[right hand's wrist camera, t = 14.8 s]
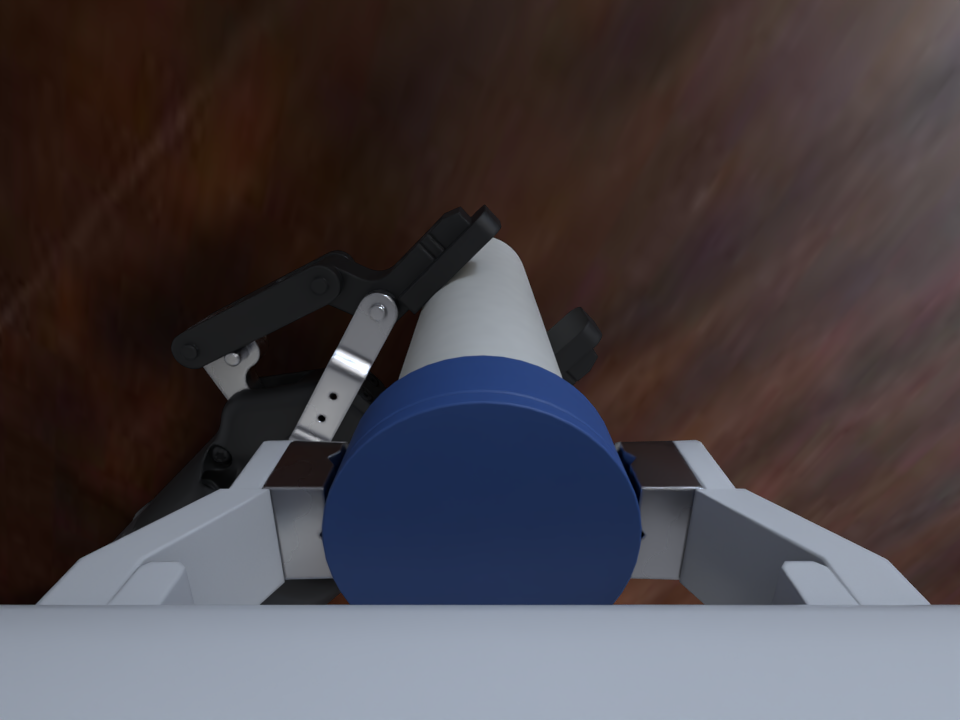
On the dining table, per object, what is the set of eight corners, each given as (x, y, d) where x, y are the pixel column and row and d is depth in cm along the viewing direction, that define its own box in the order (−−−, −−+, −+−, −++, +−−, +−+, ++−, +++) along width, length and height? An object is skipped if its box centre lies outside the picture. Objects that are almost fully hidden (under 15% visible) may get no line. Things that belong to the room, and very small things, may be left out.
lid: (293, 432, 10) (254, 493, 8) (539, 302, 9) (554, 340, 7) (435, 615, 11) (428, 697, 10) (656, 519, 11) (690, 592, 9)
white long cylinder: (457, 219, 23) (418, 370, 8) (542, 260, 24) (652, 473, 9) (418, 302, 24) (323, 566, 9) (499, 339, 25) (531, 642, 10)
